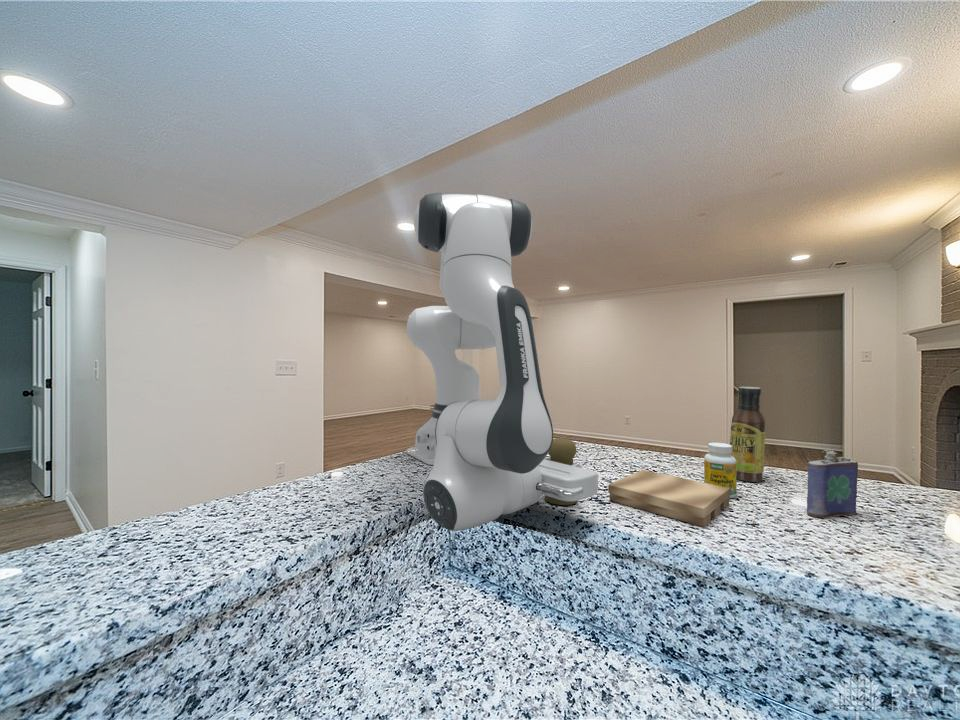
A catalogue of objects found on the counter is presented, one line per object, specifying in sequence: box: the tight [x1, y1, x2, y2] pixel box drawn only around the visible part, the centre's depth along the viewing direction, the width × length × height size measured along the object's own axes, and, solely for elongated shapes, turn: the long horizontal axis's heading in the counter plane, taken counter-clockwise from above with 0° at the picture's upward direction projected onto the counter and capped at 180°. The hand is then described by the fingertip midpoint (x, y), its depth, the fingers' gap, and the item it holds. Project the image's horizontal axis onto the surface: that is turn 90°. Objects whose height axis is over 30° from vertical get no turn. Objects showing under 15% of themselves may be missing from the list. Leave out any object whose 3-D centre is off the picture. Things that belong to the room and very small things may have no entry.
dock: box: [607, 469, 730, 528], centre depth 74 cm, size 16×14×3 cm
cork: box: [544, 437, 578, 506], centre depth 75 cm, size 6×6×11 cm
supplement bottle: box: [703, 442, 737, 499], centre depth 78 cm, size 5×5×10 cm
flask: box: [806, 449, 859, 519], centre depth 69 cm, size 9×3×11 cm, turn 102°
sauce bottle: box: [729, 386, 766, 483], centre depth 88 cm, size 6×6×20 cm
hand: (564, 464), depth 75 cm, fingers closed on cork, 4 cm apart
